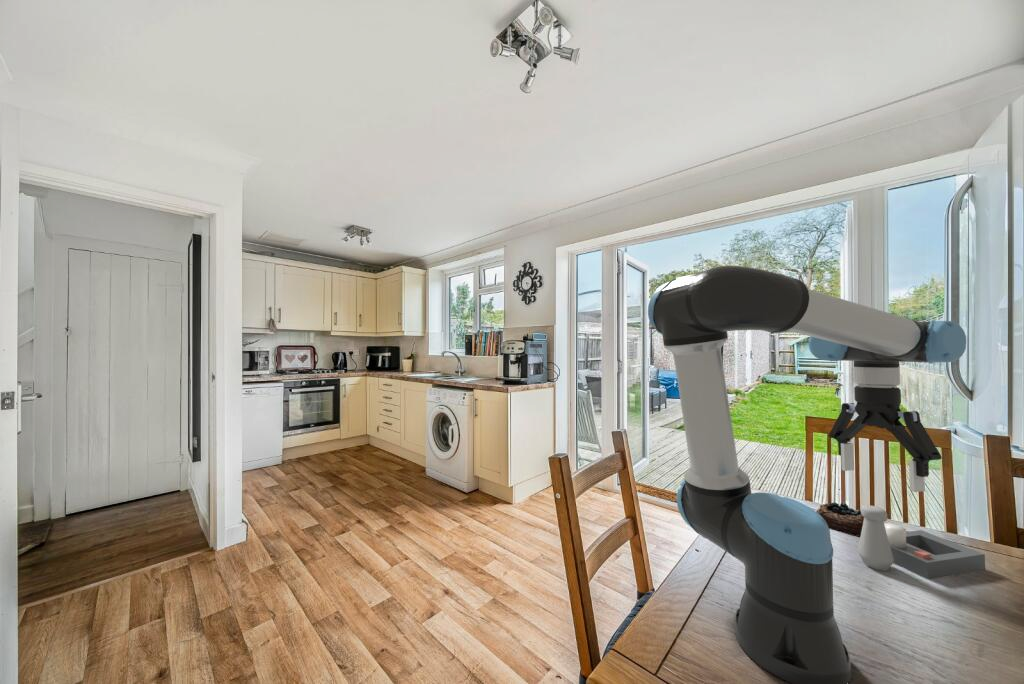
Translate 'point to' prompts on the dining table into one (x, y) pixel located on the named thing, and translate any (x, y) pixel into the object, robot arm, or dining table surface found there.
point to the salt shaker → (875, 539)
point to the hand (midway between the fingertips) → (879, 479)
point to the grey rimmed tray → (931, 554)
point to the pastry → (842, 518)
